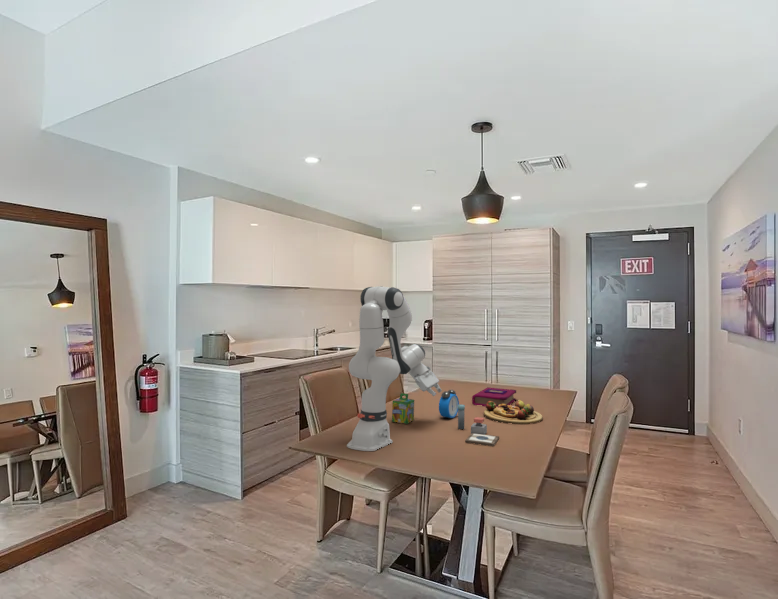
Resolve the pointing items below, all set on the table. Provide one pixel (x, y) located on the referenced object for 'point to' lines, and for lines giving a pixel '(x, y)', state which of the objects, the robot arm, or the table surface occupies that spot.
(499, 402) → the book
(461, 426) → the joystick
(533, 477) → the table surface
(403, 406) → the chalk box
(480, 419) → the button
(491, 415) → the wooden plate with food
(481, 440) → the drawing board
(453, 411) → the alarm clock
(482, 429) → the button box
